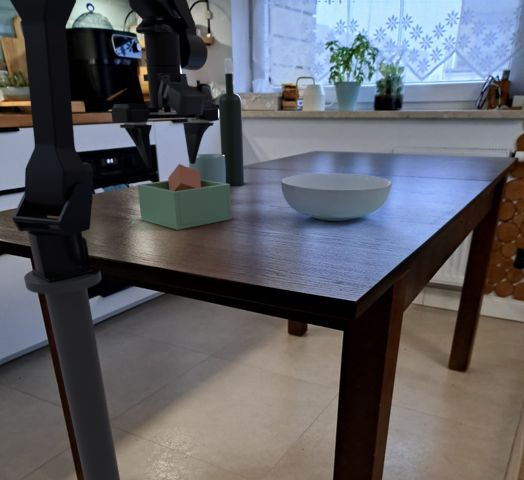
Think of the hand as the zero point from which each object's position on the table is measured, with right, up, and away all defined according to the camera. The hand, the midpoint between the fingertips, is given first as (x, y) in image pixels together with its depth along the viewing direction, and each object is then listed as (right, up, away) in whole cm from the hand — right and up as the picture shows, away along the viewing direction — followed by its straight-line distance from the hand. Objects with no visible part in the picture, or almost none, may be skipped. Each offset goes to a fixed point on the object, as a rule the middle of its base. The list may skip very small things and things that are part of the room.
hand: (171, 165), depth 93 cm
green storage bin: (+1, -8, +8) cm, 11 cm away
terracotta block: (+1, -3, +7) cm, 8 cm away
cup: (+4, 0, +24) cm, 24 cm away
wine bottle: (+8, +12, +48) cm, 50 cm away
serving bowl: (+31, -7, +8) cm, 32 cm away
